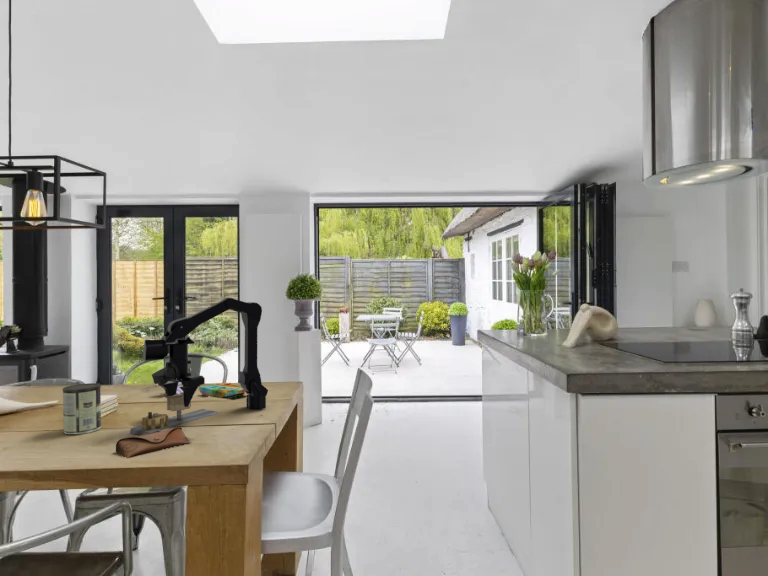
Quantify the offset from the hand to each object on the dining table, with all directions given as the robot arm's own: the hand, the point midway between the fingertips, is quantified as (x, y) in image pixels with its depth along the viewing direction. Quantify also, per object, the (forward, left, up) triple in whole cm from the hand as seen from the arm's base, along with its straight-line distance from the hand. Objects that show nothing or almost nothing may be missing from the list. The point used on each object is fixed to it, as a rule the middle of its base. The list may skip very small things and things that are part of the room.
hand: (179, 405), depth 153 cm
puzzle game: (+20, -37, -7) cm, 43 cm away
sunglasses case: (-14, +18, -7) cm, 24 cm away
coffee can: (+23, +19, -6) cm, 30 cm away
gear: (0, 0, -1) cm, 1 cm away
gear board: (0, 0, -6) cm, 6 cm away
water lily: (+43, -28, -7) cm, 52 cm away
